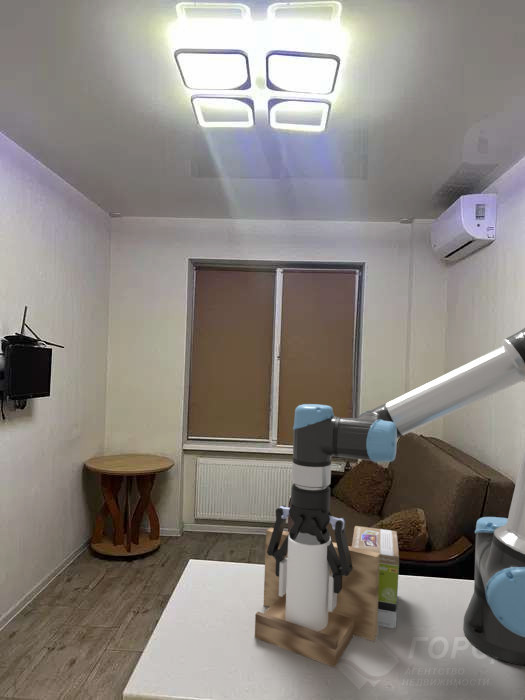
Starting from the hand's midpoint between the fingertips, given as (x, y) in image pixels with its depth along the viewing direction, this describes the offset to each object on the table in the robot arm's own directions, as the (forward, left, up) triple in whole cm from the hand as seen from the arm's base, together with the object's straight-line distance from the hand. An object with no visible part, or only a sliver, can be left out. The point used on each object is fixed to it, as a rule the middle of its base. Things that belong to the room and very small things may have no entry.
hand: (307, 600), depth 89 cm
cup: (0, 0, -4) cm, 4 cm away
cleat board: (0, 0, -7) cm, 7 cm away
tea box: (-8, -17, -7) cm, 20 cm away
